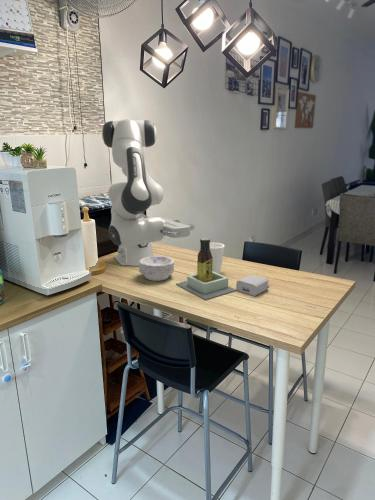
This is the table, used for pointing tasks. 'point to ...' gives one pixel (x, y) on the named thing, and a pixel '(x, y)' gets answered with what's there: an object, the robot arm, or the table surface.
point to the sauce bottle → (205, 261)
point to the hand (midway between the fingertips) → (185, 224)
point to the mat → (207, 295)
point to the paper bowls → (156, 267)
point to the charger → (252, 285)
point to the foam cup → (217, 256)
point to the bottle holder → (208, 283)
